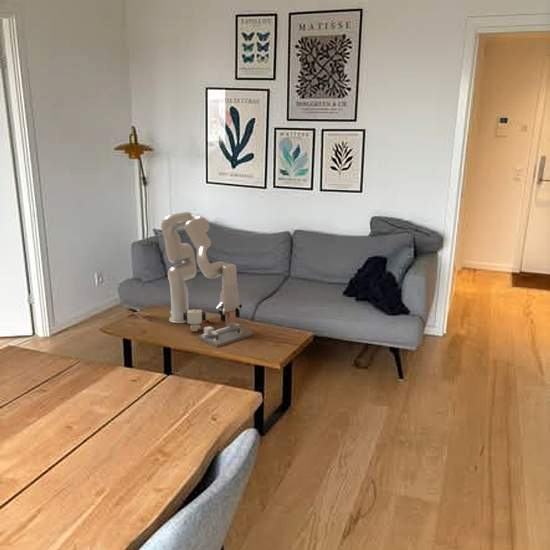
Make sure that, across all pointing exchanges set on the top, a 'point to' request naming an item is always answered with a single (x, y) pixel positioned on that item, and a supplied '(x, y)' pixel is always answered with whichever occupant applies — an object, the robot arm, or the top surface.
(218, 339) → the plate
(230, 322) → the sliding leg
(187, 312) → the pneumatic valve
